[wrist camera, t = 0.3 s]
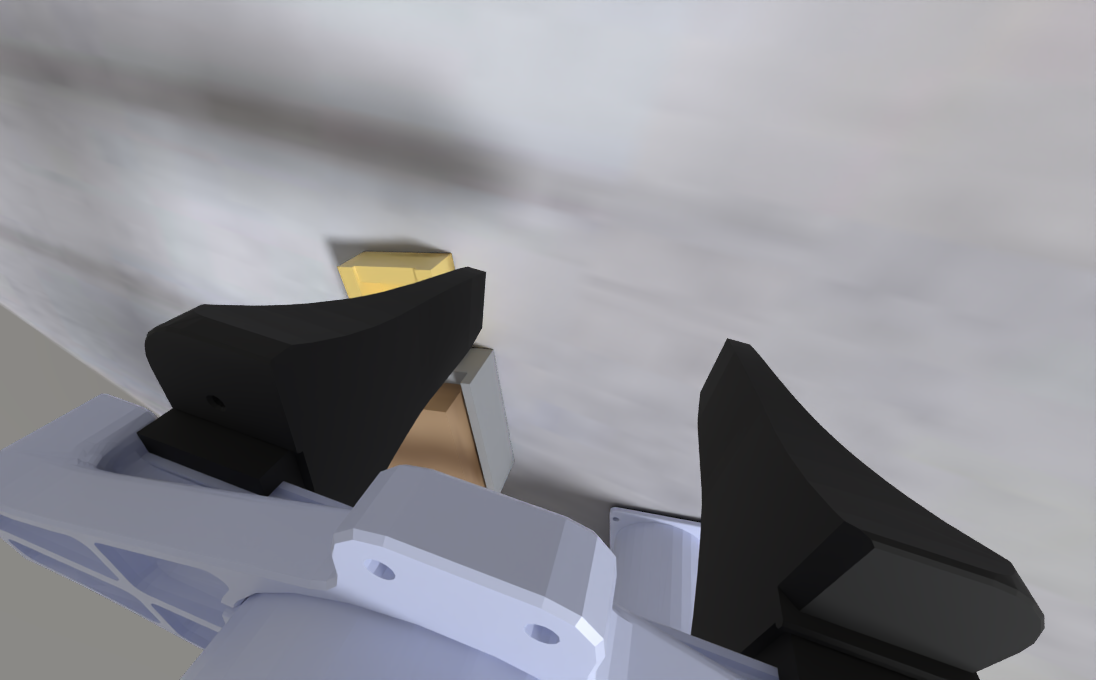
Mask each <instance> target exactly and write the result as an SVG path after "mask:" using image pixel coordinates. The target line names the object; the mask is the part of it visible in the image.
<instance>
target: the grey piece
mask: <svg viewBox="0 0 1096 680" xmlns="http://www.w3.org/2000/svg"><path fill="white" fill-rule="evenodd" d="M444 383H451V384H459V385H461V388H462V391H463V395H464V399H465V403H466V407H467V411H468V415H469V419H470V423H471V427H472V431H473V435H474V439H475V443H476V447H477V451H478V455H479V459H480V463H481V467H482V471H483V475H484V479H485V483H486V487H487V489H490V490H493V491H496V492H499V493H501V490H502V488H503V486H504V484H505V481H506V479H507V477H508V474H509V472H510V470H511V468H512V465H513V463H514V457H513V452H512V446H511V441H510V436H509V430H508V425H507V420H506V414H505V409H504V404H503V398H502V393H501V388H500V382H499V377H498V372H497V367H496V361H495V356H494V351H493V350H492V349H481V348H470V350H469V352H468V353H467V354H466V355H465V357H464V358H463V359H462V361H461V362H460V363H459V364H458V366H457V367H456V368H455V370H454V371H453V372H452V373H451V375H450V376H449V377H448V378H447V379H446V381H445V382H444Z"/></svg>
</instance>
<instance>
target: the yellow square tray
mask: <svg viewBox="0 0 1096 680" xmlns="http://www.w3.org/2000/svg"><path fill="white" fill-rule="evenodd" d="M337 268H338V270H339V273H340V275H341V278H342V281H343V283H344V286H345V289H346V291H347V294H348V296H349V298H355V297H360V296H365V295H370V294H375V293H379V292H384V291H387V290H391V289H394V288H398V287H402V286H405V285H409V284H412V283H416V282H419V281H422V280H425V279H428V278H431V277H434V276H437V275H440V274H443V273H446V272H450V271H453V270H455V267H454V263H453V258H452V254H451V253H411V252H365V251H364V252H362V253H360V254H359V255H357V256H355V257H353V258H352V259H350V260H348V261H347V262H345V263H343V264H341V265H340V266H338V267H337Z"/></svg>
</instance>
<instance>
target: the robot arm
mask: <svg viewBox="0 0 1096 680" xmlns="http://www.w3.org/2000/svg"><path fill="white" fill-rule="evenodd" d="M485 279H486V272H484V271H481V270H477V269H473V268H470V267H464V268H460V269H456V270H453V271H450V272H446V273H443V274H440V275H437V276H434V277H431V278H428V279H425V280H422V281H419V282H416V283H412V284H409V285H405V286H402V287H398V288H394V289H391V290H387V291H384V292H379V293H375V294H370V295H365V296H360V297H355V298H349V299H343V300H334V301H326V302H317V303H308V304H293V305H268V306H245V305H209V304H203V305H200V306H198V307H196V308H194V309H192V310H190V311H188V312H185V313H183V314H181V315H179V316H177V317H175V318H173V319H171V320H169V321H167V322H165V323H163V324H161V325H159V326H157V327H155V328H154V329H152V330H151V331H149V332H148V334H147V337H146V340H145V352H146V357H147V359H148V362H149V364H150V366H151V368H152V370H153V372H154V374H155V376H156V378H157V380H158V382H159V383H160V385H161V387H162V389H163V391H164V393H165V395H166V397H167V398H168V400H169V402H170V404H171V406H172V408H173V409H171V410H170V411H168V412H167V413H165V414H164V415H162V416H161V417H159V418H158V417H157V416H156V415H155V414H154V413H152V412H151V411H150V410H148V409H146V408H144V407H142V406H139V405H137V404H134V403H131V402H128V401H126V400H123V399H120V398H117V397H115V396H112V395H109V394H100V395H98V396H96V397H95V398H93V399H91V400H89V401H87V402H86V403H84V404H82V405H80V406H79V407H77V408H75V409H73V410H71V411H69V412H68V413H66V414H64V415H62V416H61V417H59V418H57V419H56V420H53V421H52V422H50V423H48V424H46V425H44V426H43V427H41V428H39V429H37V430H36V431H34V432H32V433H30V434H29V435H27V436H25V437H23V438H22V439H19V440H18V441H16V442H14V443H12V444H11V445H9V446H7V447H5V448H4V449H2V450H0V537H1V538H2V539H3V540H4V541H5V542H6V543H8V544H9V545H10V546H11V547H12V548H13V549H15V550H16V551H17V552H18V553H19V554H21V555H22V556H23V557H24V558H25V559H27V560H29V561H31V562H34V563H36V564H38V565H40V566H42V567H44V568H46V569H48V570H51V571H53V572H55V573H57V574H59V575H61V576H63V577H65V578H67V579H69V580H71V581H73V582H75V583H77V584H79V585H81V586H83V587H85V588H87V589H89V590H91V591H93V592H95V593H97V594H99V595H101V596H103V597H105V598H107V599H109V600H111V601H113V602H114V603H117V604H118V605H120V606H122V607H124V608H126V609H128V610H130V611H131V612H133V613H135V614H137V615H139V616H141V617H143V618H144V619H146V620H149V621H150V622H152V623H154V624H156V625H157V626H160V627H161V628H163V629H165V630H167V631H169V632H171V633H173V634H174V635H176V636H178V637H180V638H182V639H184V640H185V641H187V642H189V643H191V644H193V645H195V646H196V647H198V648H200V649H202V650H203V652H202V653H201V654H200V655H199V657H198V658H197V659H196V660H195V661H194V663H193V664H192V665H191V666H190V667H189V669H188V670H187V671H186V672H185V673H184V675H183V676H182V677H181V678H180V679H179V680H980V679H979V677H978V675H977V673H976V672H977V671H980V670H982V669H984V668H986V667H988V666H991V665H993V664H995V663H997V662H1000V661H1002V660H1004V659H1006V658H1008V657H1011V656H1013V655H1015V654H1017V653H1020V652H1021V651H1023V650H1024V649H1026V648H1028V647H1029V646H1031V645H1032V644H1034V643H1035V641H1036V640H1037V639H1038V637H1039V636H1040V634H1041V633H1042V631H1043V630H1044V614H1043V613H1042V611H1041V609H1040V608H1039V606H1038V605H1037V603H1036V601H1035V600H1034V598H1033V597H1032V595H1031V593H1030V592H1029V590H1028V589H1027V587H1026V586H1025V584H1024V582H1023V581H1022V579H1021V578H1020V576H1019V574H1018V573H1017V571H1016V570H1015V568H1014V566H1013V565H1012V563H1011V562H1010V561H1008V560H1007V559H1005V558H1003V557H1002V556H1000V555H998V554H997V553H995V552H994V551H992V550H990V549H989V548H987V547H985V546H984V545H982V544H980V543H979V542H977V541H975V540H974V539H972V538H970V537H969V536H967V535H966V534H964V533H962V532H961V531H959V530H957V529H956V528H954V527H952V526H951V525H949V524H947V523H946V522H944V521H943V520H941V519H940V518H938V517H937V516H935V515H934V514H932V513H931V512H929V511H928V510H926V509H925V508H923V507H922V506H921V505H919V504H918V503H916V502H915V501H913V500H912V499H910V498H909V497H907V496H906V495H905V494H903V493H902V492H900V491H899V490H898V489H896V488H895V487H894V486H892V485H891V484H889V483H888V482H887V481H885V480H884V479H883V478H882V477H880V476H879V475H878V474H877V473H875V472H874V471H873V470H871V469H870V468H869V467H868V466H866V465H865V464H864V463H862V462H861V461H860V460H859V459H858V458H856V457H855V456H854V455H853V454H852V453H850V452H849V451H848V450H847V449H846V448H845V447H844V446H843V445H841V444H840V443H839V442H838V441H837V440H836V439H835V438H834V437H833V436H832V435H830V434H829V433H828V432H827V431H826V430H825V429H824V428H823V427H822V426H821V425H820V424H819V423H818V422H817V421H816V420H815V419H814V418H813V417H812V416H811V415H810V414H809V413H808V412H807V411H806V409H805V408H804V407H803V406H802V405H801V404H800V403H799V402H798V401H797V400H796V399H795V397H794V396H793V395H792V394H791V393H790V392H789V391H788V389H787V388H786V387H785V386H784V385H783V383H782V382H781V381H780V380H779V379H778V377H777V376H776V375H775V374H774V372H773V371H772V370H771V369H770V368H769V366H768V365H767V364H766V363H765V361H764V360H763V359H762V358H761V356H760V355H759V354H758V353H757V352H756V351H755V349H754V348H753V347H752V346H751V345H750V344H746V343H742V342H739V341H735V340H731V339H728V338H727V340H726V342H725V344H724V346H723V348H722V350H721V352H720V354H719V356H718V358H717V360H716V362H715V364H714V366H713V368H712V370H711V372H710V374H709V376H708V378H707V380H706V382H705V384H704V386H703V388H702V390H701V392H700V401H699V411H698V439H699V455H700V471H701V486H702V512H701V523H699V522H694V521H689V520H683V519H678V518H673V517H667V516H662V515H656V514H651V513H646V512H640V511H635V510H630V509H624V508H619V507H612V508H611V509H610V549H609V548H608V547H607V545H606V544H605V543H604V542H603V541H602V540H601V539H600V537H599V536H598V535H597V534H596V533H595V532H594V531H593V530H591V529H589V528H587V527H585V526H583V525H582V524H580V523H578V522H576V521H574V520H572V519H570V518H568V517H567V516H564V515H561V514H558V513H555V512H552V511H550V510H547V509H544V508H541V507H538V506H535V505H533V504H530V503H527V502H524V501H521V500H518V499H516V498H513V497H510V496H507V495H504V494H501V493H499V492H496V491H493V490H490V489H487V488H484V487H482V486H479V485H476V484H473V483H470V482H467V481H465V480H462V479H459V478H456V477H453V476H450V475H448V474H445V473H442V472H439V471H436V470H433V469H429V468H423V467H418V466H412V465H398V466H395V467H392V468H390V469H387V468H388V467H389V465H390V463H391V461H392V460H393V458H394V456H395V454H396V453H397V451H398V449H399V448H400V446H401V444H402V443H403V441H404V439H405V437H406V436H407V434H408V433H409V431H410V429H411V428H412V426H413V425H414V423H415V421H416V420H417V418H418V417H419V415H420V413H421V412H422V410H423V409H424V408H425V406H426V405H427V404H428V402H429V401H430V399H431V398H432V397H433V396H434V394H435V393H436V392H437V391H438V389H439V388H440V387H441V386H442V384H443V383H444V382H445V381H446V379H447V378H448V377H449V376H450V375H451V373H452V372H453V371H454V370H455V368H456V367H457V366H458V364H459V363H460V362H461V361H462V359H463V358H464V357H465V355H466V354H467V353H468V352H469V350H470V348H471V346H472V345H473V343H474V341H475V340H476V338H477V336H478V334H479V332H480V331H481V329H482V322H483V307H484V293H485Z"/></svg>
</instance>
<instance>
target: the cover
mask: <svg viewBox="0 0 1096 680" xmlns="http://www.w3.org/2000/svg"><path fill="white" fill-rule="evenodd" d="M398 465H412V466H418V467H423V468H429V469H433V470H436V471H439V472H442V473H445V474H448V475H450V476H453V477H456V478H459V479H462V480H465V481H467V482H470V483H473V484H476V485H479V486H482V487H484V488H486V483H485V479H484V475H483V471H482V467H481V463H480V459H479V455H478V451H477V447H476V443H475V439H474V435H473V431H472V427H471V423H470V419H469V415H468V411H467V407H466V403H465V399H464V395H463V391H462V388H461V385H459V384H451V383H443V384H442V386H441V387H440V388H439V389H438V391H437V392H436V393H435V394H434V396H433V397H432V398H431V399H430V401H429V402H428V404H427V405H426V406H425V408H424V409H423V410H422V412H421V413H420V415H419V417H418V418H417V420H416V421H415V423H414V425H413V426H412V428H411V429H410V431H409V433H408V434H407V436H406V437H405V439H404V441H403V443H402V444H401V446H400V448H399V449H398V451H397V453H396V454H395V456H394V458H393V460H392V461H391V463H390V465H389V467H388V468H387V469H390V468H392V467H395V466H398Z"/></svg>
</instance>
